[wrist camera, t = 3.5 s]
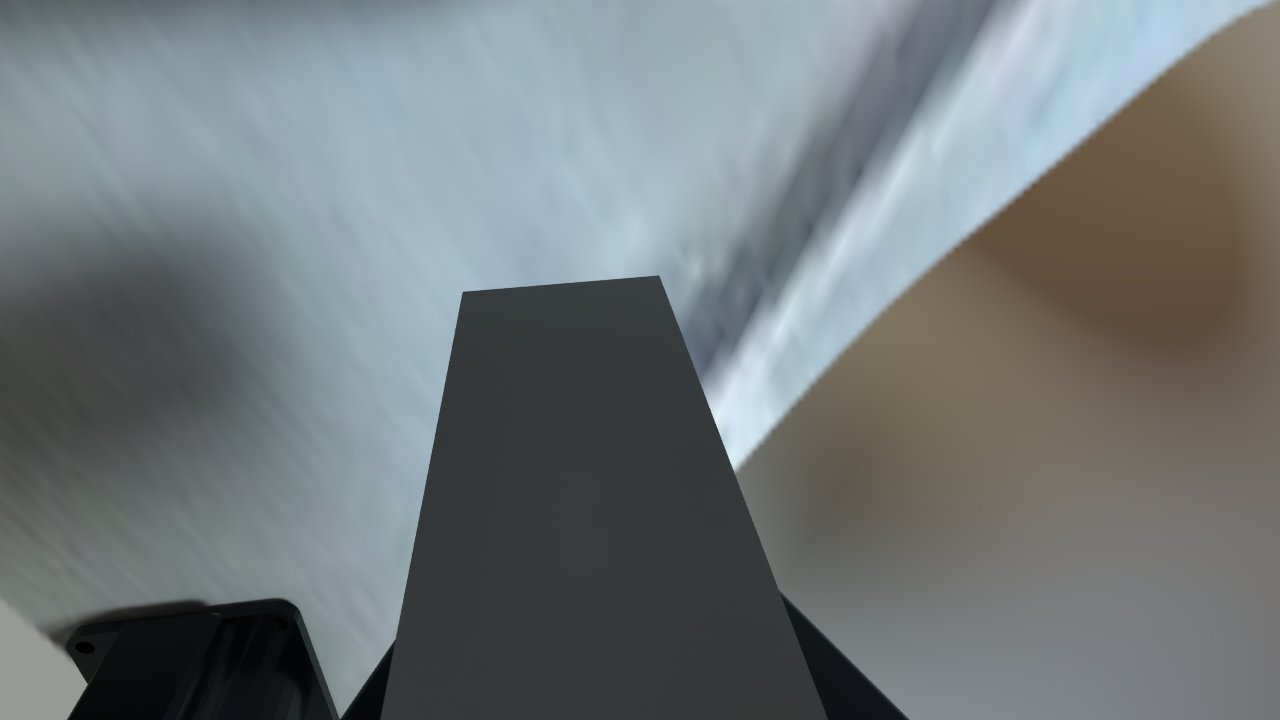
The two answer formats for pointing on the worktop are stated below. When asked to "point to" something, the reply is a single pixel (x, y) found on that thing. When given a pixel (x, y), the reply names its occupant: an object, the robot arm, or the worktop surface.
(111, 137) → the worktop surface
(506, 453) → the domino
